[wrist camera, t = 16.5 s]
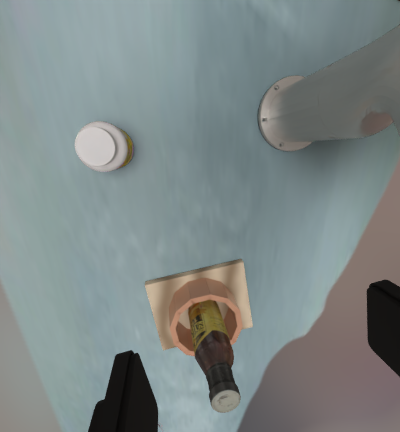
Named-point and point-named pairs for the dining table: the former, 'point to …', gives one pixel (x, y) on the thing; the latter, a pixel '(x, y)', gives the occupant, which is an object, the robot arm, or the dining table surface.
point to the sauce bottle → (214, 354)
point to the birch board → (161, 299)
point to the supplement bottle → (103, 146)
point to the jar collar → (198, 293)
